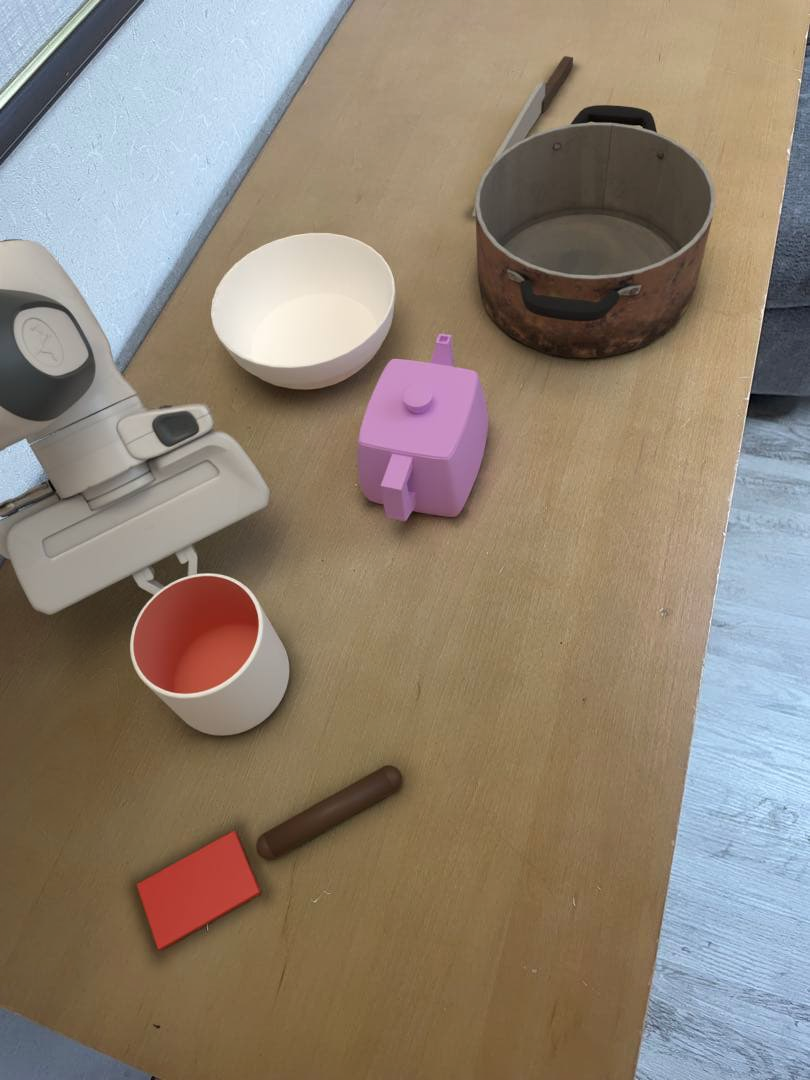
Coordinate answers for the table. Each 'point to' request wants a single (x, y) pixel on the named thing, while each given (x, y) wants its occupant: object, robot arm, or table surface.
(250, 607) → the cup
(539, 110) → the kitchen knife
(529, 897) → the table surface
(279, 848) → the spatula
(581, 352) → the saucepan
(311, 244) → the bowl
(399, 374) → the teapot
